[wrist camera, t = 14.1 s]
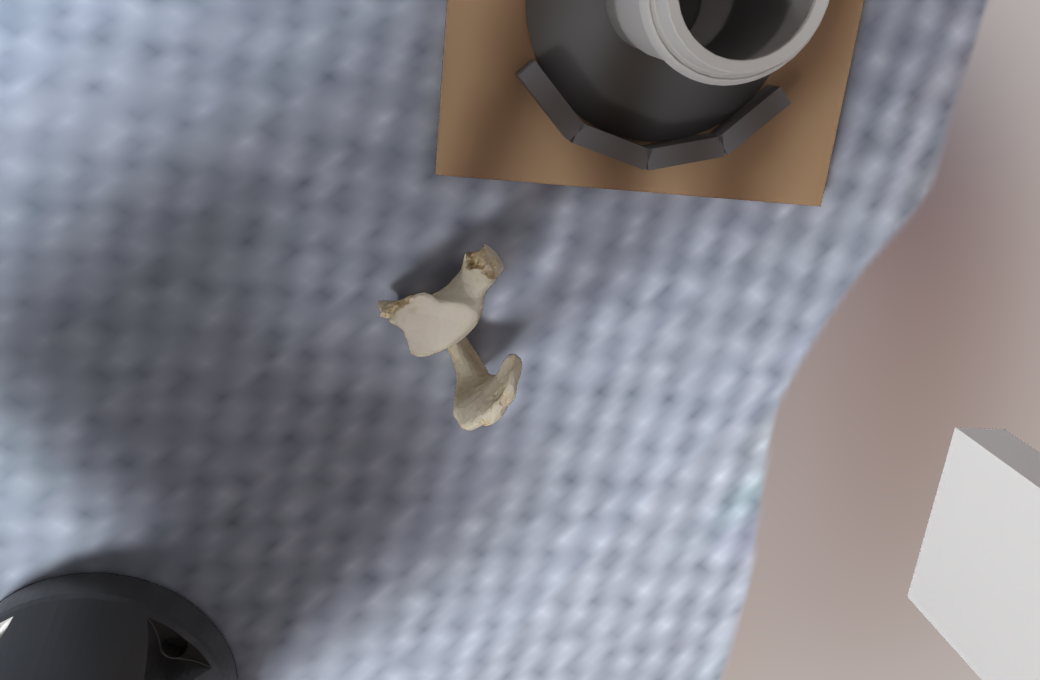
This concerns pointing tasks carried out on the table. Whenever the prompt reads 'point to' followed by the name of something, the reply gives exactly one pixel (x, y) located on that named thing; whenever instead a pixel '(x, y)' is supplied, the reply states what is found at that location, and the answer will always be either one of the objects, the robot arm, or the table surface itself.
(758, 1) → the cup
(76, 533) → the table surface
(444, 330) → the bone
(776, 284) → the table surface
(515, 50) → the ring holder
